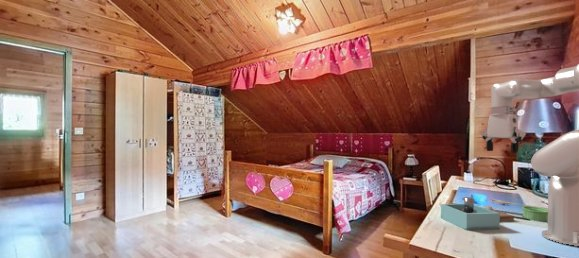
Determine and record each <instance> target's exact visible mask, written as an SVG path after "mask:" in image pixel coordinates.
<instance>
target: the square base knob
mask: <svg viewBox="0 0 579 258" xmlns="http://www.w3.org/2000/svg"><path fill="white" fill-rule="evenodd" d="M463 200H464V202H463V204H464V208H462V210H461V211H462V212H465V213H477V210H474V205H475V202H474V201H475V198H473V197H468V196H464V199H463Z"/></svg>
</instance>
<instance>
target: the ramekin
mask: <svg viewBox="0 0 579 258" xmlns="http://www.w3.org/2000/svg"><path fill="white" fill-rule="evenodd" d="M533 206H534V205H530V206H523V207H521V208H522V215H523V218H525V219H527V220H530V221H536V222H540V223H541V222H544V223H546V222H547V223H548V210H547V209H544V208H545V207H543V208H539V207H540V206H536V207H533Z"/></svg>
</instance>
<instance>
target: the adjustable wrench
mask: <svg viewBox="0 0 579 258" xmlns="http://www.w3.org/2000/svg"><path fill="white" fill-rule="evenodd" d="M490 200H492V202H495V203H499V204H517V205H518V204H519V203H516V202H509V201H504V200H501V199H496V198H495V199H494V198H491V199H489V201H490ZM492 202H491V203H492ZM522 205H524V206H531V205H528V204H522ZM532 206H533V207H537V205H532ZM538 207H539V208H544V209H547V210H548V207H542V206H538Z"/></svg>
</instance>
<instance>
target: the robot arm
mask: <svg viewBox="0 0 579 258" xmlns="http://www.w3.org/2000/svg"><path fill="white" fill-rule="evenodd" d="M490 90H491V92H490V97H491V98H490V102H491V103H490V108H491V109H490V115H489V117H488V122H487V128H486V129H484V130H482V131H480V135H481V136H482V139H483V140H484V142H486V143H485V145H486V147H485V148H486V152H493V151H494V142H493V141H494V140H495V138H496V139H509V140H510V141H511V143H510V153H512V154H513V153H514V154H515V153H516V154H517V153H518V152H519V144H520V142H522V141H523V139H524V137H526V134H527V131H526V132H525V131H523V130H522V129H519V123H518V119H517V114H514V113H516V112H517V108H514V99H527V100H528V99H529V100H531V99H532V100H534V99H542V98H549V97H556V96H560V95H565V94H568V93H574V92H579V63H578V64H577V65H575V66H571V67H566V68H561V69H559V70H558V71H557V72H556V73H555V75H554V76H551V77H547V78H541V79H526V78H523V79H522V78H514V79H510V80H507V81H505V82H504V81H503V82H496V83H494V84H492V85H491V89H490ZM530 166H531V168H532V169H533V171H535V173H537V174H538V175H540V176H544V177H548V178H549V177H550V178H549V182H548V188H547V189H548V191H547V208H548V221H547V230H542V231H541V236H542V235H543V236H544V238H545V239H547V240H549V239H550V241H552V240H553V242H555V241H556V243H558V242H559V244H562V243H563V245H566V244H569V245H568V246H570V245H574V246H573V247H577V246H579V129H574V130H571V131H569V132H566V133H564V134H563V135H561V136H559V137H557V138H556V139H554V140H553V141H551V142H549V143H548V144H545V146H543V147H542V148H540V149H539V150H537V151H536V152H535V153H534V154H533V156H532V157H531V160H530ZM543 236H542V237H543Z"/></svg>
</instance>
